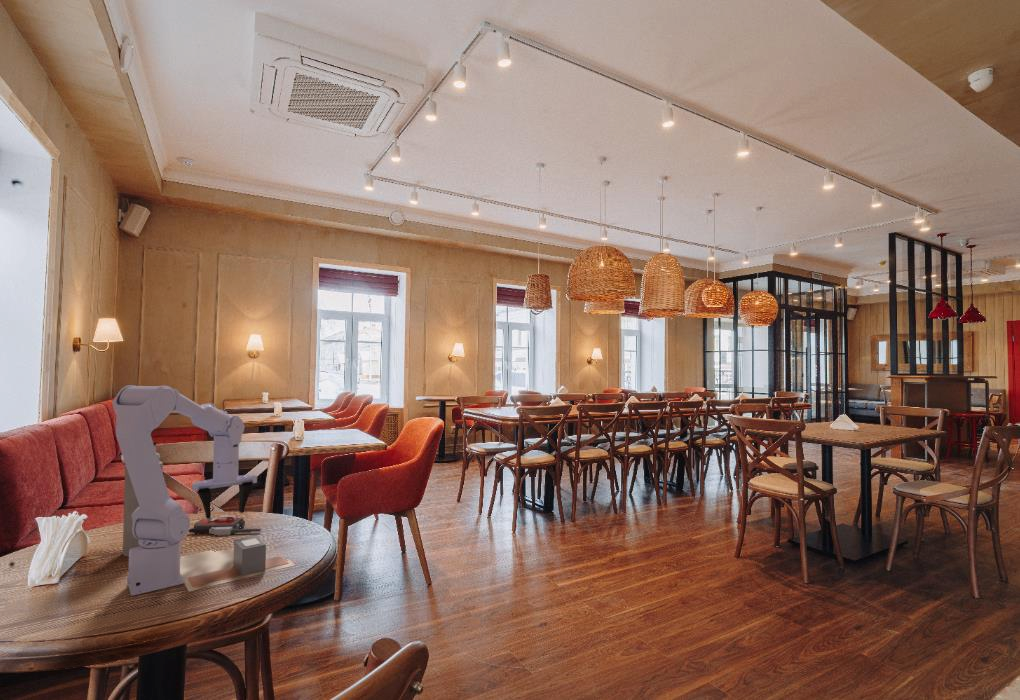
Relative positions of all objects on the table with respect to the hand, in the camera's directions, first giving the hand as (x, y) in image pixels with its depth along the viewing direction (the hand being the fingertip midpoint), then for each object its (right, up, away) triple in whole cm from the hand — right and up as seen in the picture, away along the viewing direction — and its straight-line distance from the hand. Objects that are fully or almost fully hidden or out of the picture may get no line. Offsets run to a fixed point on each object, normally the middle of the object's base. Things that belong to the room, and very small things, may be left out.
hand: (225, 514), depth 131 cm
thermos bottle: (-21, -10, 0) cm, 23 cm away
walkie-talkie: (-8, -10, +16) cm, 21 cm away
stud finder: (+12, -9, -11) cm, 18 cm away
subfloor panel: (+6, -9, -7) cm, 13 cm away
